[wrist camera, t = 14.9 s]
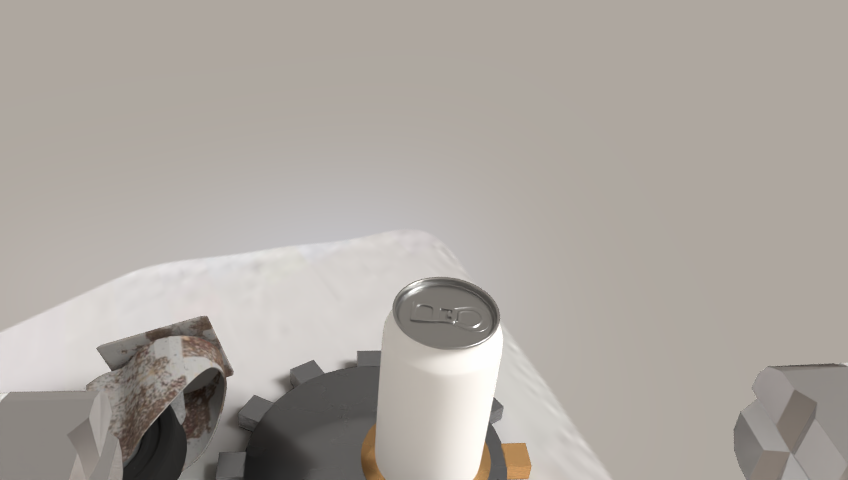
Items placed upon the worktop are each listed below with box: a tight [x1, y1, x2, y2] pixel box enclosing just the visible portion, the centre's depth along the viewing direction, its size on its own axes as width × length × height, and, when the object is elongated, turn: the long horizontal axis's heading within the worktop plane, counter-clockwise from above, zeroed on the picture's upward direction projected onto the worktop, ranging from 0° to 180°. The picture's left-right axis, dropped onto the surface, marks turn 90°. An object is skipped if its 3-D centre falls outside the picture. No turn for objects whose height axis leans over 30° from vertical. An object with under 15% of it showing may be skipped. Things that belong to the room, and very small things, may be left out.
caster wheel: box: [86, 316, 234, 480], centre depth 45 cm, size 7×11×10 cm
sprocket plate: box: [216, 351, 531, 480], centre depth 46 cm, size 19×19×1 cm
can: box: [375, 277, 503, 480], centre depth 43 cm, size 6×6×12 cm
